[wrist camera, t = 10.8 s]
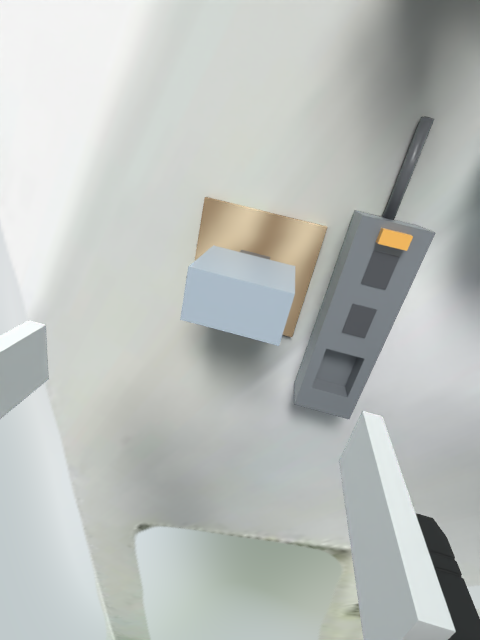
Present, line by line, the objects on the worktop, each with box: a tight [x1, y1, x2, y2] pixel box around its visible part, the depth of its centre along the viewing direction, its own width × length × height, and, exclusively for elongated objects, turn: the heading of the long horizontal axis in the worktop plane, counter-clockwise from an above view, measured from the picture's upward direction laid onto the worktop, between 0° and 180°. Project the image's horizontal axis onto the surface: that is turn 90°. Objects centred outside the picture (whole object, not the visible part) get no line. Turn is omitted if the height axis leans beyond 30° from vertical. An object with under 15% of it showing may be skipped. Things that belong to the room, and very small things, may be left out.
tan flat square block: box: [195, 197, 327, 337], centre depth 34 cm, size 12×12×1 cm
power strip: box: [294, 117, 435, 419], centre depth 31 cm, size 28×6×5 cm, turn 168°
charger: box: [180, 245, 295, 346], centre depth 30 cm, size 4×8×10 cm, turn 78°
